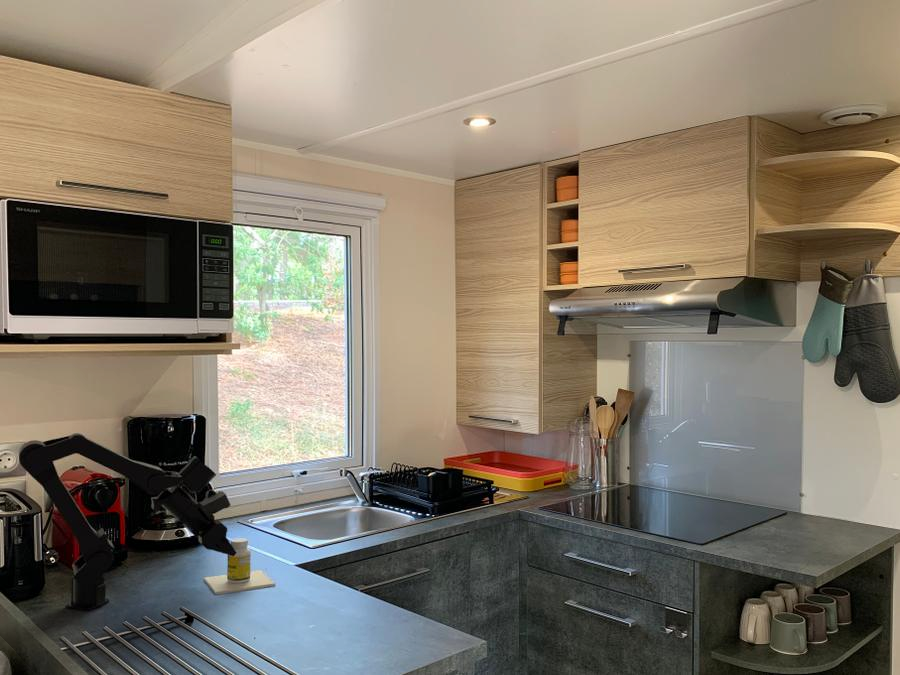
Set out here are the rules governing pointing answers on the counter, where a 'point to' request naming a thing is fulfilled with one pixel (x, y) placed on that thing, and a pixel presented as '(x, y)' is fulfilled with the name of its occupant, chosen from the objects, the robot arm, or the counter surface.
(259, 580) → the rubber mat
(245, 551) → the supplement bottle
